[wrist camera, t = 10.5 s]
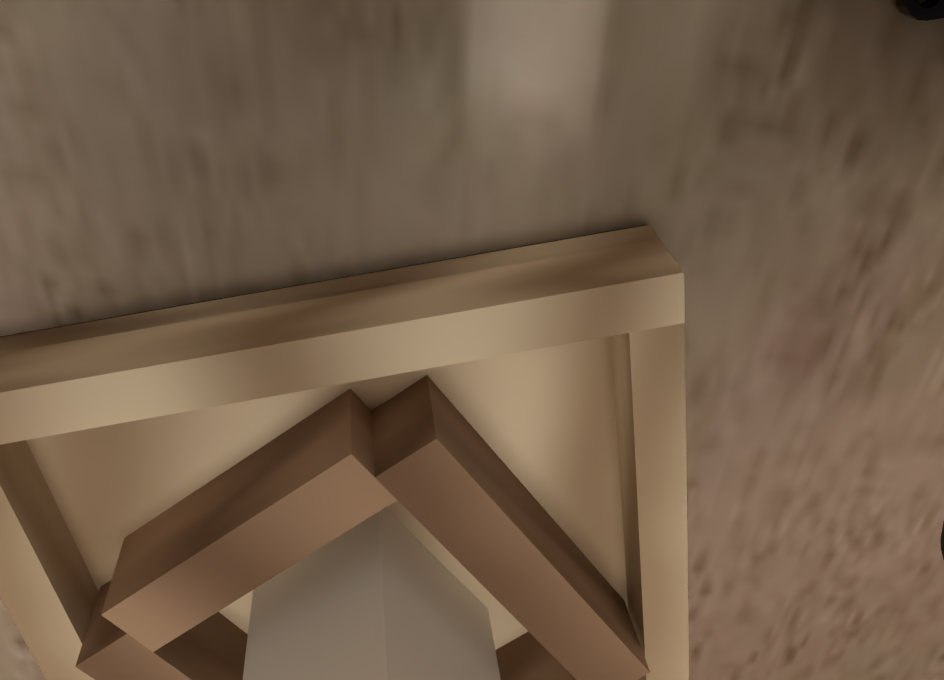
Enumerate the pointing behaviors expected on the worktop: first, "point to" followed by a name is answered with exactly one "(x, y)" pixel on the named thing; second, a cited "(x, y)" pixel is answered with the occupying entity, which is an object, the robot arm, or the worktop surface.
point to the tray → (376, 330)
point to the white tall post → (369, 614)
